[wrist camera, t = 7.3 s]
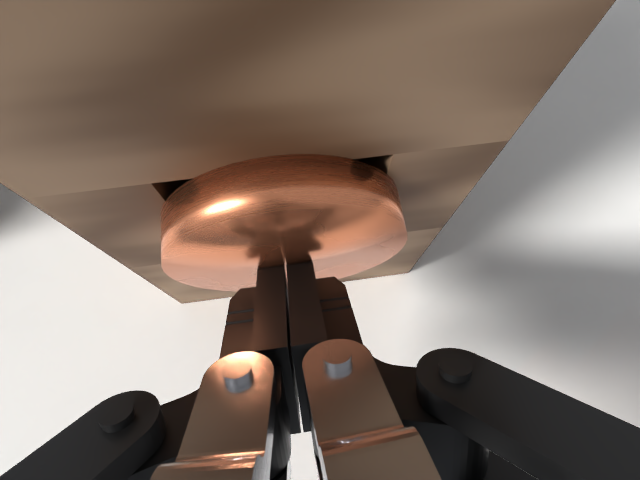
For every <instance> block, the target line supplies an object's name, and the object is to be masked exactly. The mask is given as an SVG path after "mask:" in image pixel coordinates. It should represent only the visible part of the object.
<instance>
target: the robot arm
mask: <svg viewBox="0 0 640 480" xmlns="http://www.w3.org/2000/svg"><path fill="white" fill-rule="evenodd" d="M286 268H287V278H286V271H285V266H284V265H279V266H272V267H264V268H258V269H257V280H256V287H249V288H241V289H239V290H238V291H237V293H236V294H235V295H234V296H233V297H232V298H231V300H230V303H229V309H228V315H227V320H226V325H225V331H224V336H223V342H222V348H221V353H220V359H219V360H218V361H216V362H215V363H214V364H213V365H211V366H210V367H209V368H208V370H207V371H206V372H205V374H204V376H203V379H202V382H201V385H200V388H199V389H198V390H196V391H194V392H193V393H191V394H189V395H186V396H184V397H181V398H179V399H176V400H174V401H171V402H168V403H166V404H163V405H160V404H159V402H158V399H157V398H156V397H155V396H154V395H153V394H151V393H149V392H146V391H128V392H124V393H120V394H117V395H115V396H112V397H110V398H108V399H106V400H104V401H103V402H101V403H100V404H98V405H97V406H95V407H94V408H92V409H91V410H90V411H88V412H87V413H86V414H84V415H83V416H82V417H80V418H79V419H78V420H76V421H75V422H73V423H72V424H71V425H69V426H68V427H67V428H65V429H64V430H63V431H61V432H60V433H59V434H57V435H56V436H54V437H53V438H52V439H50V440H49V441H48V442H46V443H45V444H44V445H42V446H41V447H40V448H38V449H37V450H36V451H34V452H33V453H31V454H30V455H29V456H27V457H26V458H25V459H23V460H22V461H21V462H19V463H18V464H17V465H15V466H14V467H12V468H11V469H10V470H8V471H7V472H6V473H4V474H3V475H2V476H0V480H291V464H290V455H291V438H290V434H296V433H301V428H300V414H299V404H300V410H301V417H302V424H303V430H304V432H308V431H311V432H312V439H313V446H314V454H315V461H316V468H317V473H318V478H319V480H640V428H638V427H636V426H634V425H632V424H630V423H627V422H625V421H623V420H621V419H618V418H616V417H614V416H612V415H610V414H607V413H605V412H603V411H601V410H599V409H596V408H594V407H592V406H590V405H587V404H585V403H583V402H581V401H579V400H576V399H574V398H572V397H570V396H567V395H565V394H563V393H561V392H559V391H556V390H554V389H552V388H550V387H548V386H545V385H543V384H541V383H539V382H536V381H534V380H532V379H530V378H528V377H525V376H523V375H521V374H519V373H517V372H514V371H512V370H510V369H508V368H505V367H503V366H501V365H499V364H497V363H494V362H492V361H490V360H488V359H486V358H483V357H481V356H479V355H477V354H474V353H472V352H469V351H466V350H462V349H456V348H442V349H437V350H433V351H431V352H429V353H427V354H425V355H424V356H423V357H422V358H421V359H420V360H419V362H418V364H417V367H405V366H397V365H391V364H387V363H384V362H382V361H379V360H378V359H376V358H374V357H373V356H372V354H371V353H370V351H369V350H368V349H367V348H366V347H365V346H364V345H363V343H362V340H361V336H360V333H359V330H358V326H357V323H356V320H355V317H354V313H353V310H352V308H351V303H350V300H349V298H348V294H347V290H346V287H345V285H344V284H343V283H342V282H341V281H339V280H338V279H337V278H336V277H334V276H333V277H325V278H318V279H316V276H315V271H314V266H313V261H310V262H302V263H295V264H287V265H286ZM298 397H299V400H298ZM493 452H494V453H493ZM498 455H499V456H498ZM503 458H504V459H503ZM508 461H509V462H508ZM513 464H514V465H513ZM521 469H522V470H521ZM526 472H527V473H526ZM531 475H532V476H531ZM536 478H537V479H536Z"/></svg>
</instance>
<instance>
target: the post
mask: <svg viewBox="0 0 640 480" xmlns="http://www.w3.org/2000/svg"><path fill="white" fill-rule="evenodd" d="M615 1H616V0H0V183H1V184H3V185H4V186H6V187H7V188H9V189H10V190H12V191H13V192H15V193H16V194H18V195H19V196H21V197H22V198H24V199H25V200H27V201H28V202H30V203H31V204H33V205H34V206H36V207H37V208H39V209H40V210H42V211H43V212H45V213H46V214H48V215H49V216H51V217H52V218H54V219H55V220H57V221H58V222H60V223H61V224H63V225H64V226H66V227H67V228H69V229H70V230H72V231H73V232H75V233H76V234H78V235H79V236H81V237H82V238H84V239H85V240H87V241H88V242H90V243H91V244H93V245H94V246H96V247H97V248H99V249H100V250H102V251H103V252H105V253H106V254H108V255H109V256H111V257H112V258H114V259H115V260H117V261H118V262H120V263H121V264H123V265H124V266H126V267H127V268H129V269H130V270H132V271H133V272H135V273H136V274H138V275H139V276H141V277H142V278H144V279H145V280H147V281H148V282H150V283H151V284H153V285H154V286H156V287H157V288H159V289H160V290H162V291H163V292H165V293H166V294H168V295H169V296H171V297H172V298H174V299H175V300H177V301H178V302H180V303H181V304H182V303H190V302H197V301H204V300H212V299H219V298H226V297H233V296H234V295H235V294H236V293H237V291H221V290H211V289H204V288H198V287H194V286H190V285H186V284H183V283H180V282H178V281H176V280H174V279H172V278H171V277H169V276H168V275H167V274H166V273H165V272H164V271H163V269H162V267H161V209H162V206H163V204H164V202H165V201H166V199H167V198H168V197H169V196H170V195H171V194H172V193H173V192H174V191H175V190H176V189H177V188H179V187H180V186H182V185H183V184H184V183H186V182H188V181H190V180H191V179H193V178H195V177H197V176H199V175H201V174H204V173H206V172H209V171H211V170H213V169H216V168H219V167H223V166H226V165H229V164H232V163H236V162H241V161H245V160H250V159H255V158H261V157H268V156H277V155H289V154H319V155H332V156H339V157H346V158H350V159H354V160H358V161H362V162H365V163H367V164H370V165H373V166H375V167H377V168H378V169H380V170H382V171H384V172H385V173H386V174H387V175H389V176H390V177H391V179H392V180H393V181H394V182H395V185H396V187H397V190H398V195H399V199H400V204H401V208H402V212H403V217H404V221H405V226H406V230H407V241H406V244H405V245H404V247H403V248H402V249H401V250H400V251H399V252H398V253H397V254H396V255H394V256H393V257H391V258H390V259H388V260H387V261H385V262H383V263H381V264H379V265H377V266H375V267H373V268H370V269H368V270H365V271H363V272H360V273H357V274H354V275H351V276H348V277H344V278H341V279H338V280H339V281H341V282H344V281H352V280H359V279H366V278H374V277H381V276H388V275H396V274H403V273H408V272H409V271H410V270H411V269H412V267H413V266H414V265H415V263H416V262H417V261H418V259H419V258H420V257H421V255H422V254H423V253H424V251H425V250H426V249H427V248H428V246H429V245H430V244H431V242H432V241H433V240H434V238H435V237H436V236H437V234H438V233H439V232H440V231H441V229H442V228H443V227H444V225H445V224H446V223H447V221H448V220H449V219H450V217H451V216H452V215H453V213H454V212H455V211H456V210H457V208H458V207H459V206H460V204H461V203H462V202H463V200H464V199H465V198H466V196H467V195H468V194H469V192H470V191H471V190H472V189H473V187H474V186H475V185H476V183H477V182H478V181H479V179H480V178H481V177H482V175H483V174H484V173H485V171H486V170H487V169H488V168H489V166H490V165H491V164H492V162H493V161H494V160H495V158H496V157H497V156H498V154H499V153H500V152H501V150H502V149H503V148H504V147H505V145H506V144H507V143H508V141H509V140H510V139H511V137H512V136H513V135H514V133H515V132H516V131H517V130H518V128H519V127H520V126H521V124H522V123H523V122H524V120H525V119H526V118H527V116H528V115H529V114H530V112H531V111H532V110H533V109H534V107H535V106H536V105H537V103H538V102H539V101H540V99H541V98H542V97H543V95H544V94H545V93H546V91H547V90H548V89H549V88H550V86H551V85H552V84H553V82H554V81H555V80H556V78H557V77H558V76H559V74H560V73H561V72H562V70H563V69H564V68H565V67H566V65H567V64H568V63H569V61H570V60H571V59H572V57H573V56H574V55H575V53H576V52H577V51H578V49H579V48H580V47H581V46H582V44H583V43H584V42H585V40H586V39H587V38H588V36H589V35H590V34H591V32H592V31H593V30H594V29H595V27H596V26H597V25H598V23H599V22H600V21H601V19H602V18H603V17H604V15H605V14H606V13H607V11H608V10H609V9H610V8H611V6H612V5H613V4H614V2H615Z"/></svg>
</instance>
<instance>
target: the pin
mask: <svg viewBox="0 0 640 480" xmlns="http://www.w3.org/2000/svg"><path fill="white" fill-rule="evenodd" d="M406 241H407V230H406V226H405V221H404V217H403V212H402V208H401V204H400V199H399V195H398V190H397V187H396V185H395V182H394V181H393V180H392V179H391V177H390V176H389V175H387V174H386V173H385V172H384V171H382V170H380V169H378V168H377V167H375V166H373V165H370V164H367V163H365V162H362V161H358V160H354V159H350V158H346V157H339V156H332V155H319V154H289V155H277V156H268V157H261V158H255V159H250V160H245V161H241V162H236V163H232V164H229V165H226V166H223V167H219V168H216V169H213V170H211V171H209V172H206V173H204V174H201V175H199V176H197V177H195V178H193V179H191V180H190V181H188V182H186V183H184V184H183V185H182V186H180V187H179V188H177V189H176V190H175V191H174V192H173V193H172V194H171V195H170V196H169V197H168V198H167V199H166V201H165V202H164V204H163V206H162V209H161V267H162V269H163V271H164V272H165V273H166V274H167V275H168V276H169V277H171V278H172V279H174V280H176V281H178V282H180V283H183V284H186V285H190V286H194V287H198V288H204V289H211V290H221V291H238V290H239V289H241V288H249V287H256V280H257V269H258V268H264V267H272V266H279V265H284V266H285V271H286V278H287V268H286V265H287V264H295V263H302V262H310V261H313V266H314V271H315V276H316V279H318V278H325V277H333V276H334V277H336V278H337V279H341V278H344V277H348V276H351V275H354V274H357V273H360V272H363V271H365V270H368V269H370V268H373V267H375V266H377V265H379V264H381V263H383V262H385V261H387V260H388V259H390V258H391V257H393V256H394V255H396V254H397V253H398V252H399V251H400V250H401V249H402V248H403V247H404V245H405V244H406Z"/></svg>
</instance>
